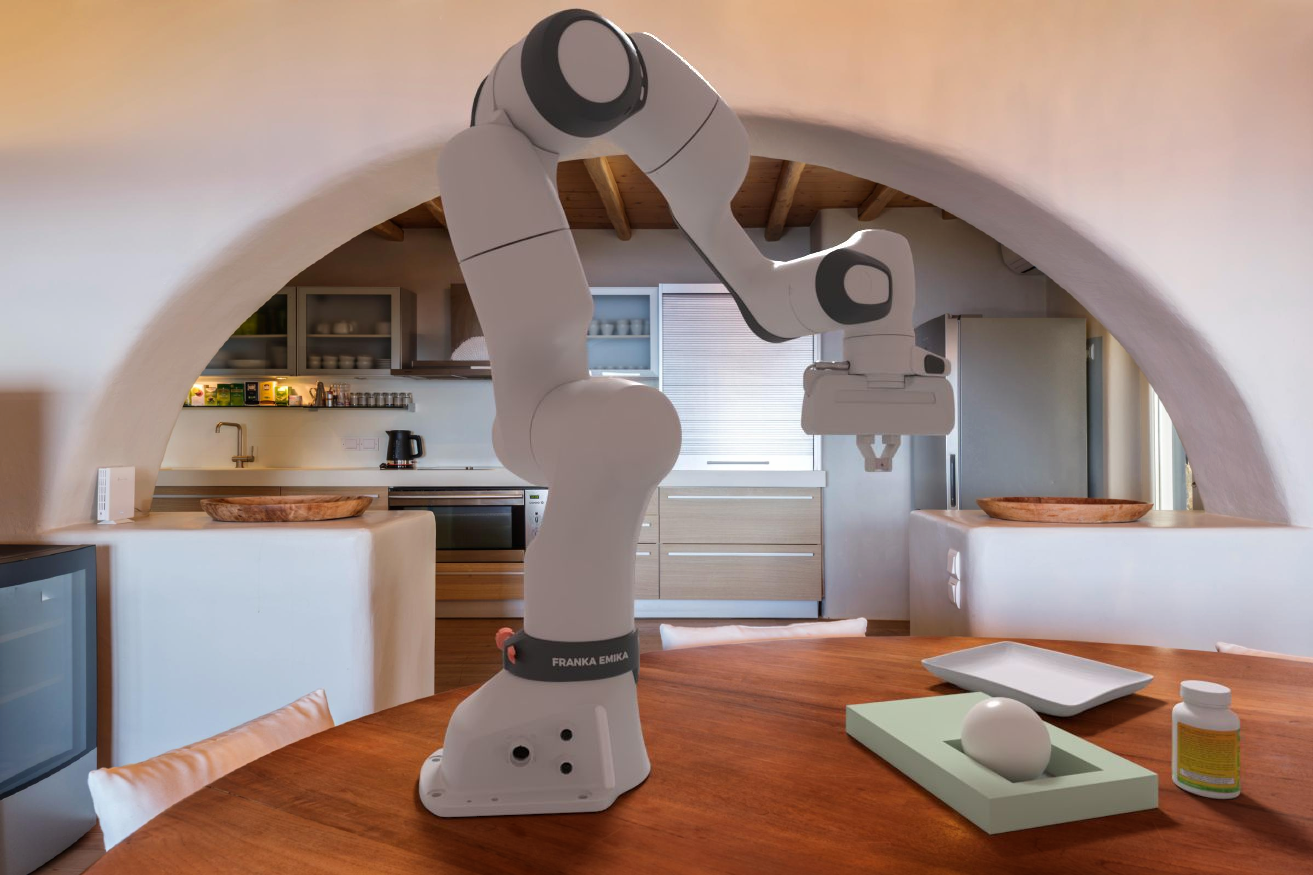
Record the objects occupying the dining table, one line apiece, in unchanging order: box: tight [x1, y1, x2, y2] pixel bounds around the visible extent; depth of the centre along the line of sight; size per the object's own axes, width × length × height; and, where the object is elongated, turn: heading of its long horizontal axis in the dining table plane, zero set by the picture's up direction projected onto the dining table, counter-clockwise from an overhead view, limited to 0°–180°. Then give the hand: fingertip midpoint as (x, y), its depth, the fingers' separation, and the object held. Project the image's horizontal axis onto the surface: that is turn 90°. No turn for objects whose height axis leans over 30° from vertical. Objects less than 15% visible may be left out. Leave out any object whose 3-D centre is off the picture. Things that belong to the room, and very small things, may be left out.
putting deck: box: [845, 692, 1159, 835], centre depth 80 cm, size 18×24×3 cm
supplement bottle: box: [1171, 679, 1241, 800], centre depth 75 cm, size 5×5×10 cm
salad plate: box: [920, 640, 1155, 717], centre depth 105 cm, size 21×21×3 cm
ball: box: [961, 697, 1051, 783], centre depth 76 cm, size 8×8×8 cm
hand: (878, 471), depth 100 cm, fingers closed
